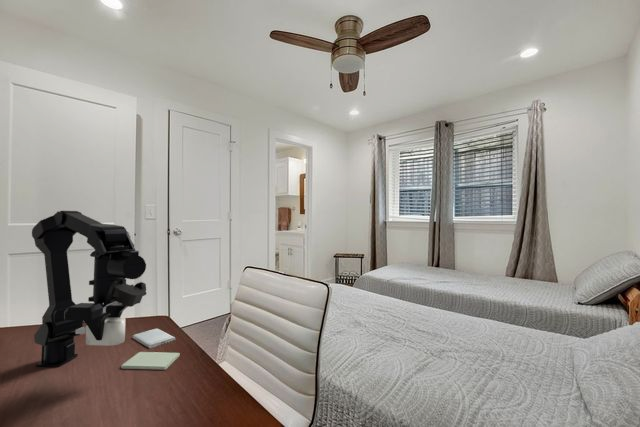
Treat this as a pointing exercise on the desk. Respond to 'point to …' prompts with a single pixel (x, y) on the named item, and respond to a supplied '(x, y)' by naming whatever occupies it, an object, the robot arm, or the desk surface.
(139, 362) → the sage mat
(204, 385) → the desk surface
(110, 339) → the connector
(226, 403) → the desk surface
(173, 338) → the hard drive
